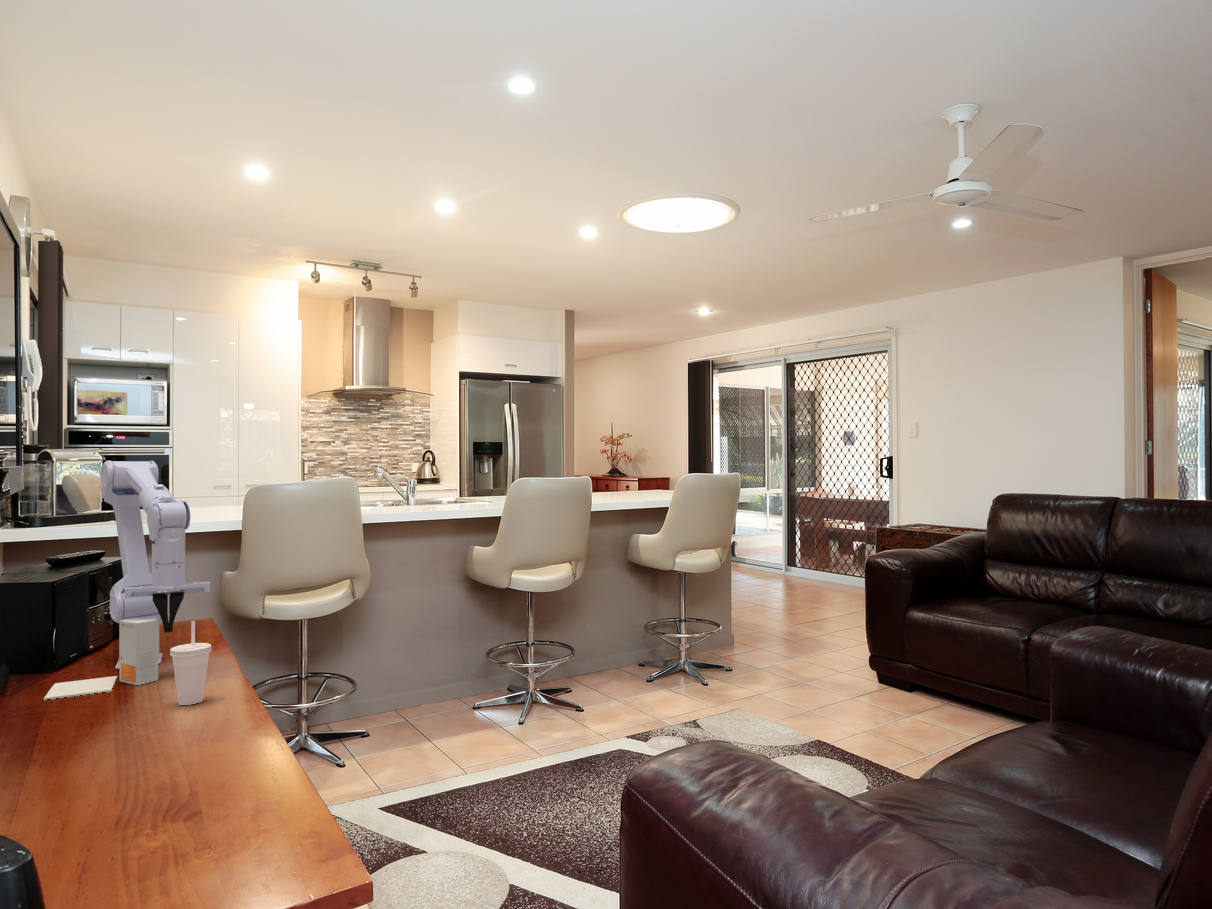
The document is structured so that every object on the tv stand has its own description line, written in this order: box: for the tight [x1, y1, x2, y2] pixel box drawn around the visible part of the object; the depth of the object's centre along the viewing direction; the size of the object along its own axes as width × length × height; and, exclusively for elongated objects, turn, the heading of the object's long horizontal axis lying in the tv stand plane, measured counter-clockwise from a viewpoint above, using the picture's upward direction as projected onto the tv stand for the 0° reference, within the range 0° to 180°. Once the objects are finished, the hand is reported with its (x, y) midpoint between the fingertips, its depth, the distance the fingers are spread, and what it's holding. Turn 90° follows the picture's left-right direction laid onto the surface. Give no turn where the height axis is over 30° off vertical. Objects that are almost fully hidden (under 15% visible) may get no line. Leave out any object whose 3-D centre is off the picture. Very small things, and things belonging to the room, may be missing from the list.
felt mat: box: [43, 675, 118, 701], centre depth 139 cm, size 11×10×1 cm
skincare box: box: [119, 617, 159, 686], centre depth 143 cm, size 6×4×12 cm
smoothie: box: [169, 620, 213, 706], centre depth 129 cm, size 6×6×14 cm
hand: (168, 631), depth 146 cm, fingers closed
